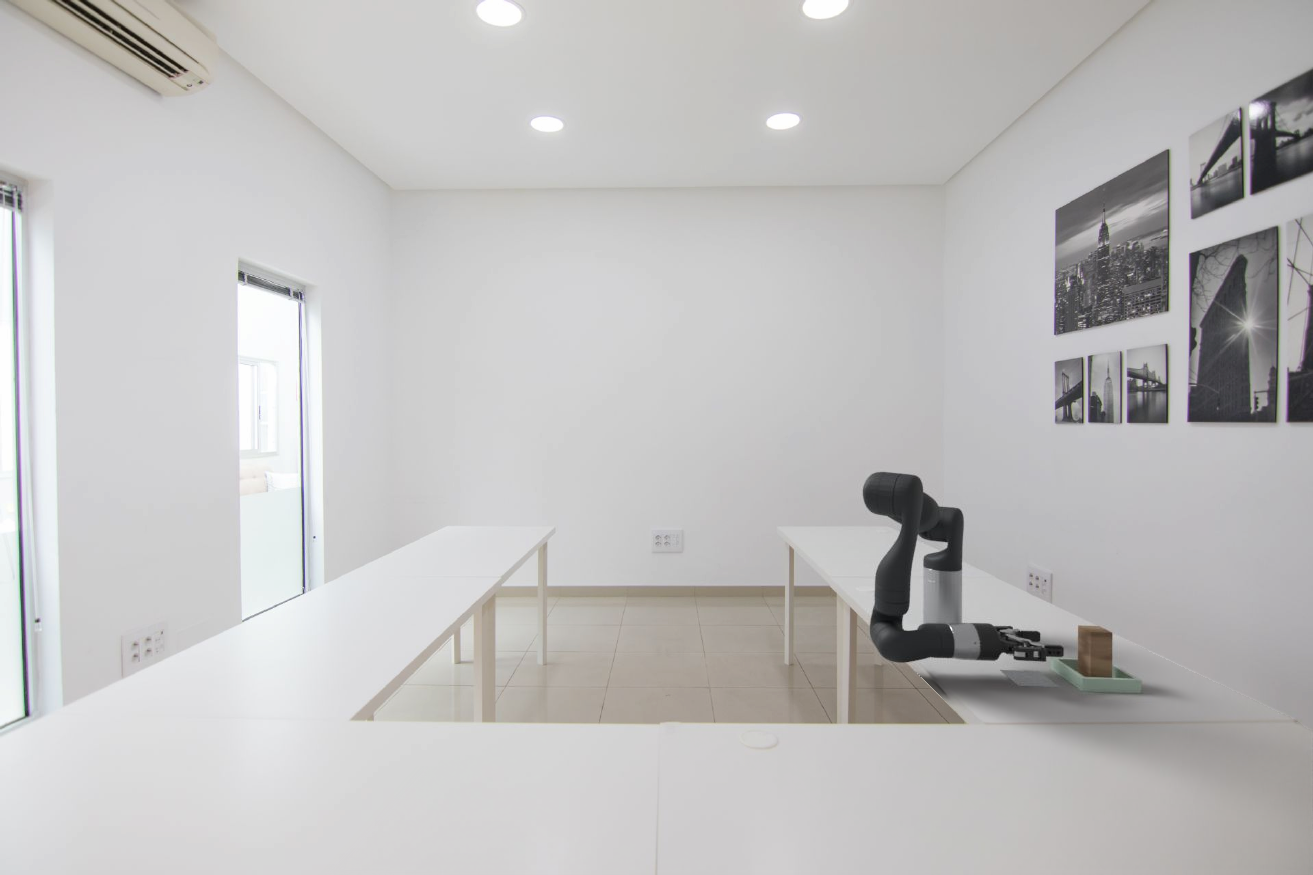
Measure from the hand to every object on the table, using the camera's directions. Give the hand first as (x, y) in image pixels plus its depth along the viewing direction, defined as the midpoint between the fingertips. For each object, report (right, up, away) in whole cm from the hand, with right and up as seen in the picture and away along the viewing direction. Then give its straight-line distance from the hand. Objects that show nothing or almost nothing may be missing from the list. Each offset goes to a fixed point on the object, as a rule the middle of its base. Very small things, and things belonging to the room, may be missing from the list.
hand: (1050, 643), depth 125 cm
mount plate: (-4, -8, 0) cm, 9 cm away
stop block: (+9, -8, -1) cm, 11 cm away
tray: (+9, -8, -1) cm, 12 cm away
